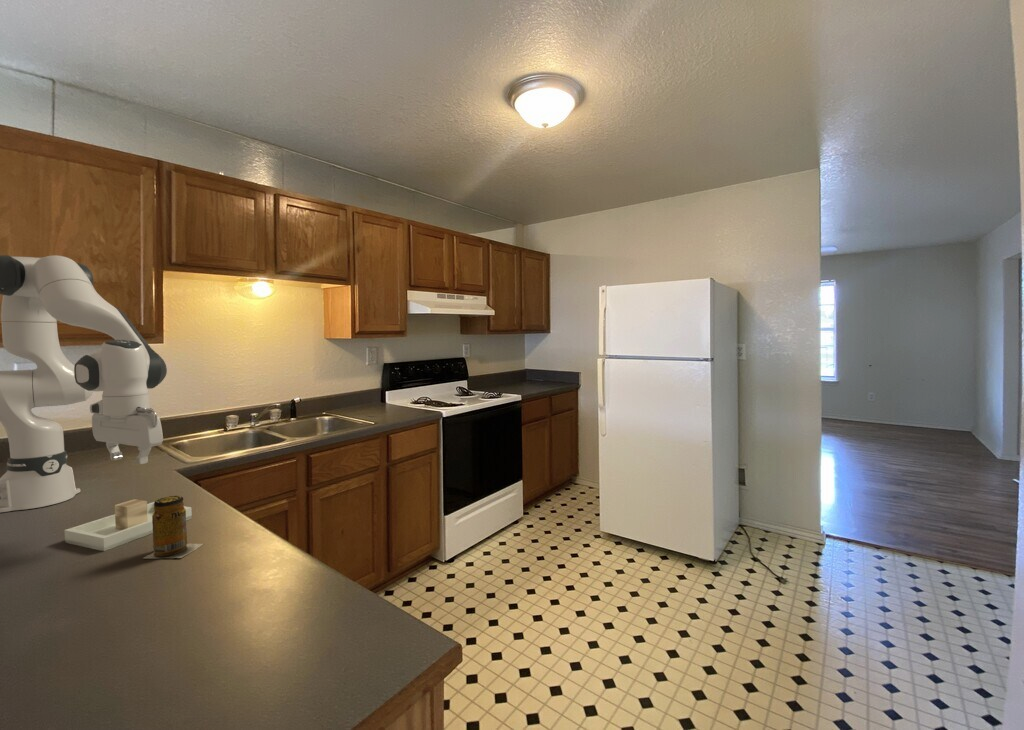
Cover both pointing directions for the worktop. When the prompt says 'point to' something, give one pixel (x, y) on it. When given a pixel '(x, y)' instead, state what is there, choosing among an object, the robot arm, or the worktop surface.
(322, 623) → the worktop surface
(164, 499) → the condiment
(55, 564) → the worktop surface
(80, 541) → the shallow rimmed tray
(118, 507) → the birch block
